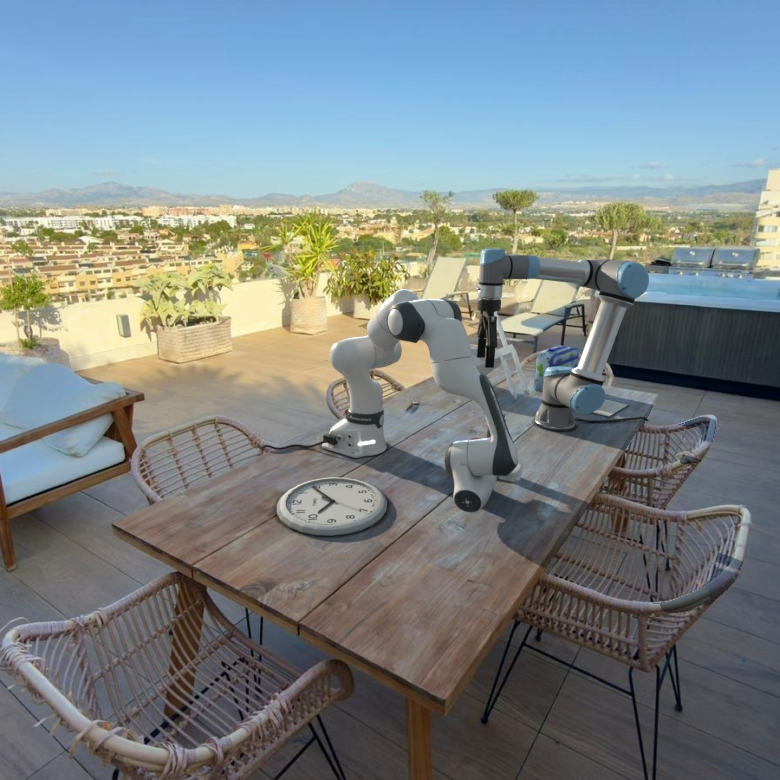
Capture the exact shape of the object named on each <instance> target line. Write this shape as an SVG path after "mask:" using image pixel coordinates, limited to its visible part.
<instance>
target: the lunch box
mask: <svg viewBox="0 0 780 780" xmlns="http://www.w3.org/2000/svg"><path fill="white" fill-rule="evenodd" d="M579 354H580V351H579V348H577V347H572V346H567V345H566V346H565V345H556V346H553V347H549V348H547V349H544V350H542V351H540V352H539V353H538V355H537V357H536V360H535V369H534V381H533V389H534V391H535V392H539V393H542V392H543V382H544V373H545V370H546V369H547V368H549V367H557V366H562V367H573V368H576V367H578V364H579V359H580V358H579V357H580V356H579Z"/></svg>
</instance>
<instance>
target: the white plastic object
mask: <svg viewBox="0 0 780 780" xmlns="http://www.w3.org/2000/svg"><path fill="white" fill-rule="evenodd" d="M494 316H497V332H498V335H499V338H500V342H501V345H502V347H500V348H498V349H495V358H494V368H485V359H486V350H485V358H477V347H478V345H473V346H470V347H471V351H472V357H473V361H474V364H475V366H476V368H477V370H478V371H479V372H480V373H481V374H482V375H485V376H487V375H489V374H490V373H492V372H494V371H495V370H496V369H497V368H499V367H500V366H502V370H503V373H504V376H505V380H506V383H507V386H508V390H509V393H510V394H511V395H512V397H513V398H514V399H515V400H517V392H516V391H517V390H516V388H515V385H514V381H513V378H512V375H511V371H510V369H509V365H508V361H510V360H513V363H514V366H515V369H516V372H517V376H518V380H519V382H520V385H521V389H522V391H523V393H524V395H525V396H526V397H528V396H531V395H530V390H529V388H528V387H529V386H528V384H527V381H526V378H525V375H524V371H523V369H522V368H523V367H522V366H521V362H520V359H519V355H518V352H517V349H516V347H515V346H514V345H513V343H511V344H508V341H507V337H506V334H505V331H504V328H503V325H502V321H501V318H500V315H499V314H498V312H494ZM486 345H487V343H486Z"/></svg>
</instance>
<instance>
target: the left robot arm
mask: <svg viewBox="0 0 780 780" xmlns="http://www.w3.org/2000/svg"><path fill="white" fill-rule="evenodd" d="M462 321H463V315H462V310H461V308H460V306H459V305H458V303H457V302H455V301H453V300H451V299H447V298H423V299H420V298H419V296H418V294H416V293H415V292H414V291H412V290H409V289H405V288H403V289H402V288H401V289H397V291H395V292H393V293H392V294H391V295H390V296H388V297H387V298H386V299H385V300H384V301H383V302H382V304H381V305H380V306H379V307H378V308H377V310H376V311H375V313H374V314H373V316H372V317H371V318H370V319H369V321H368V322H367V325H366V333H367V334H366V335H364V336H356V337H348V338H344V339H341V340H339V341H337V342H334V343H333V344H332V345H331V347H330V350H329V362H330V364H331V366H332V368H333V369H334V370H335V371H336V372H338V373H340V375H342V377H344V379H345V381H346V384H347V386H348V393H349V395H348V396H349V405H348V407H346V408H345V410H344V411H342V415H343V416H344V415H345V416H344V418H342V419H341V420H339V421H338V422H336V423H334V424H333V425H332V426H331V428H330V430H329V432H328V433H327V432H326V433H325V434H323V435H322V441H319V442H316V443H313V444H309V445H306V444H305V445H304V444H296V443H295V444H294V443H293V444H290V445H286V446H281V447H276V446H274V445H271V444H264V445H262V446H261V447H260V450H263V449H265V448H270V449H273V450H276V451H281V450H286V449H289V448H294V447H299V448H306V449H310V448H314V447H317V446H320V445H321V448H322V449H324V450H327V451H331V452H334V453H336V454H341V455H343V456H347V457H350V458H354V459H359V458H362V457H369V456H377V455H380V454H382V453H384V452H385V451H386V450H387V448H388V445H387V443H386V439H385V432H384V424H385V409H384V407H383V406H384V405H383V403H384V401H383V400H384V389H383V387H382V385H381V384H380V382H378V381H377V380H375V379H373V378H371V370H376V369H382V368H386V367H390V366H391V365H393V364H396V363H398V362H399V361H400V359H401V357H402V353H403V348H402V344H401V341H402V342H407V343H413V344H417V343H419V341H420V342H421V341H422V342H424V344H426V346H427V349H428V352H429V360H430V361H429V362H430V367H431V373H432V377H433V380H434V382H435V384H436V385H437V387H439V388H440V389H441V390H442V391H444V392H446V393H448V394H451V395H454V396H458V397H462V398H466V399H469V400H471V401H474V402H476V404H478V406H480V408H481V410H482V413H483V416H484V419H485V422H486V424H487V428H489V431H490V433H491V437H489V438H487V437H483V438H482V437H481V438H482V439H472V438H470V439H469V438H468V439H461V440H453V442H451V443H450V444H449V446H448V448H447V449H446V451H445V455H444V467H445V471H446V472H445V473H446V474H447V476H448V478H449V480H450V481H451V483H452V484H453V486H454V488H453V497H452V498H453V502H454V504H455V506H456V507H457V508H458V509H459V510H460V511H462V512H464V513H465V512H466V513H476V512H479V511H480V510H482V509H483V508H484V507H485V506H486V504H487V503H488V501H489V499H490V497H491V495H492V491H493V490H494V489H495V487H496V484H497V482H499V483H503V484H504V483H505V484H509V485H512V484H513V485H514V484H516V483H520V482H521V479H522V476H523V469H524V468H523V467H524V466H523V465H522V464H521V463H519V454H518V450H517V447H516V445H515V442H514V440H513V438H512V436H511V433H510V431H509V429H508V426H507V423H506V422H507V421H506V422H505V419H504V417H503V414H502V412H503V411H502V409H501V406H500V402H499V400H498V397H497V394H496V391H495V389H494V387H493V384H492V382H491V380H490V379H489V377H488V376H487V375H486V376H485V375H482V374H481V373H480V372H479V371H478V370H477V368H476V366H475V364H474V361H473V357H472V351H471V347H472V346H471V343H470V339H469V335H468V333H467V330H466V327H465V325H464V323H463V322H462ZM471 439H472V440H471Z"/></svg>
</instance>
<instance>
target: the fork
mask: <svg viewBox="0 0 780 780" xmlns="http://www.w3.org/2000/svg"><path fill="white" fill-rule="evenodd" d="M420 399H421V397H420V396H415V397H414V398H413V400H412V404H410V405H408V407H407V408H406V410H405V411H409V410H411V409H412V408H413V406H414V405H415V404H419V402H420Z"/></svg>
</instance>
